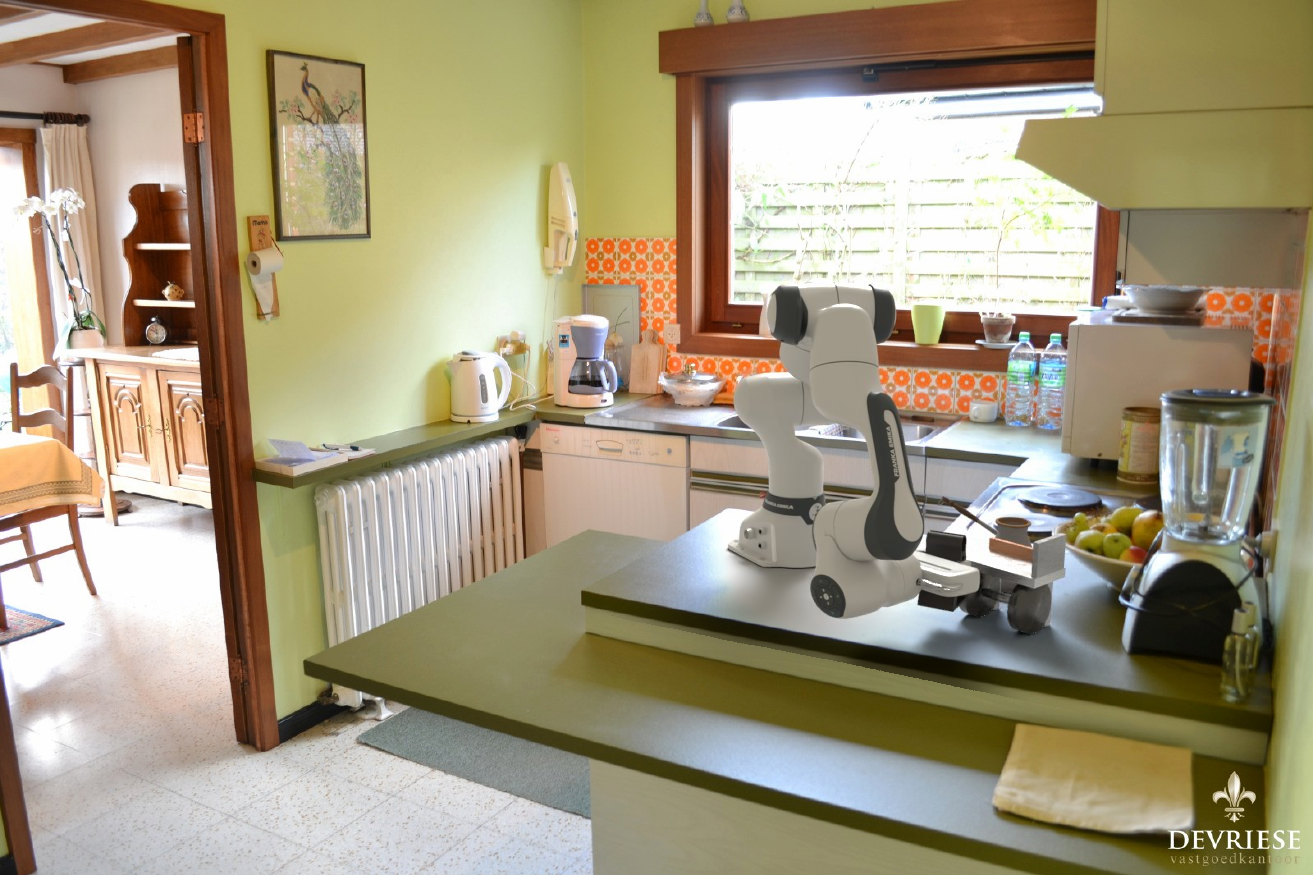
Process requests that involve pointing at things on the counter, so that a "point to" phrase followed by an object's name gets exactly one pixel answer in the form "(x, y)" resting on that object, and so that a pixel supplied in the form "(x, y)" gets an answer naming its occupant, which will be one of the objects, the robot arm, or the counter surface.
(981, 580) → the trolley
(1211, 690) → the counter surface
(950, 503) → the coffee pot
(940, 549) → the phone stand
